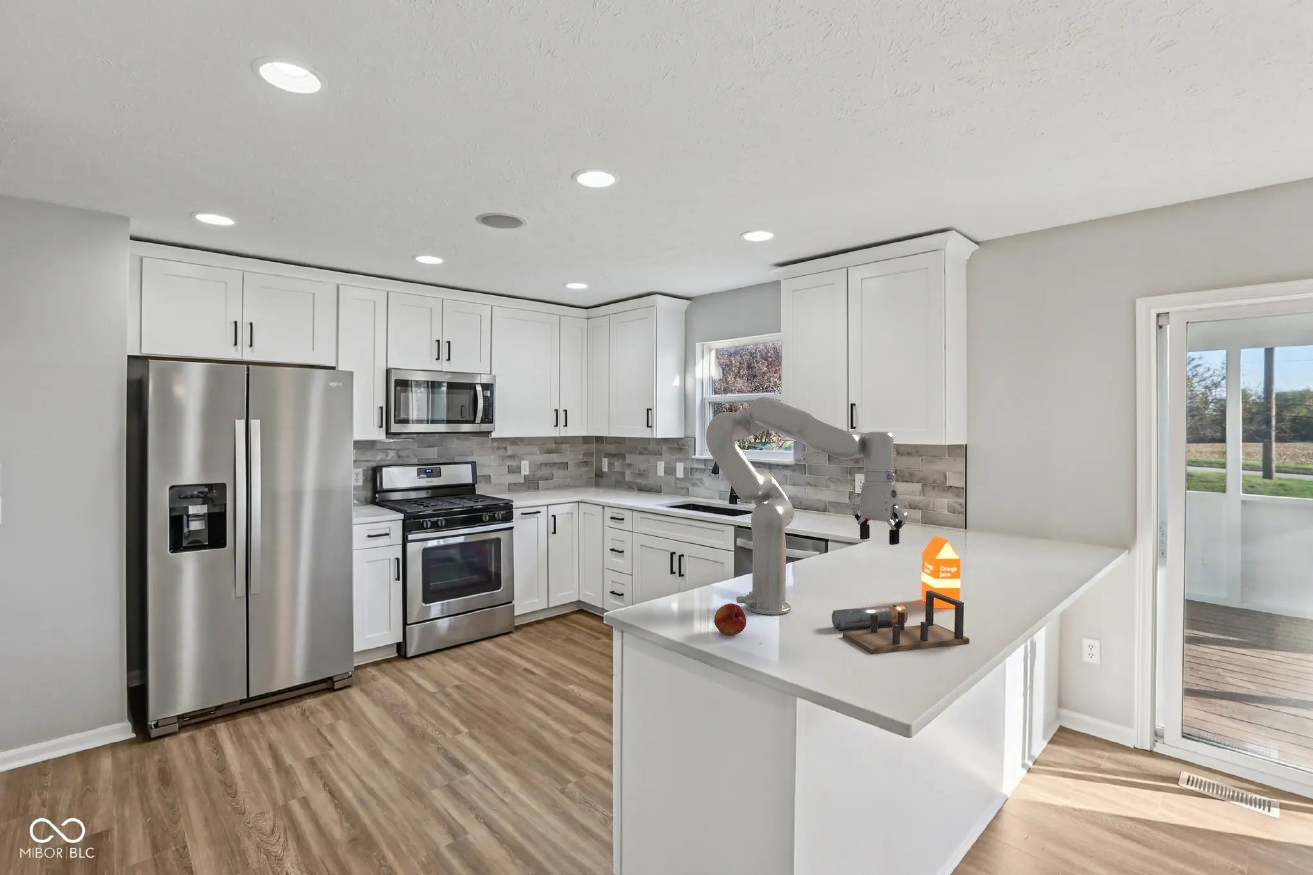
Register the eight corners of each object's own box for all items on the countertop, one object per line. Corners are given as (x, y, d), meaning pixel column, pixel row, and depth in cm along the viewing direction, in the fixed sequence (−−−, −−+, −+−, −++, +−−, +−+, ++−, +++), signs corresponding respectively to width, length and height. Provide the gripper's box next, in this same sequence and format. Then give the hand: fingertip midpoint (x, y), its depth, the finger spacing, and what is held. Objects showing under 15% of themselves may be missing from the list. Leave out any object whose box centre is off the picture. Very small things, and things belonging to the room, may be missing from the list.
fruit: (720, 641, 155) (721, 609, 155) (709, 631, 163) (709, 600, 163) (750, 638, 157) (750, 607, 157) (737, 628, 165) (737, 598, 165)
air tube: (841, 633, 163) (843, 613, 163) (830, 625, 168) (832, 606, 167) (906, 626, 169) (908, 608, 168) (894, 619, 174) (896, 601, 173)
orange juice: (945, 599, 195) (946, 535, 195) (960, 607, 186) (961, 540, 186) (920, 599, 195) (921, 535, 194) (934, 607, 186) (935, 540, 186)
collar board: (871, 653, 148) (872, 610, 148) (842, 637, 159) (843, 596, 159) (969, 643, 156) (970, 602, 156) (934, 628, 167) (935, 589, 167)
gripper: (915, 479, 163) (916, 545, 164) (862, 475, 178) (863, 536, 178) (896, 480, 160) (896, 548, 160) (844, 476, 174) (844, 538, 175)
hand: (879, 541), depth 169 cm, fingers open, 9 cm apart
